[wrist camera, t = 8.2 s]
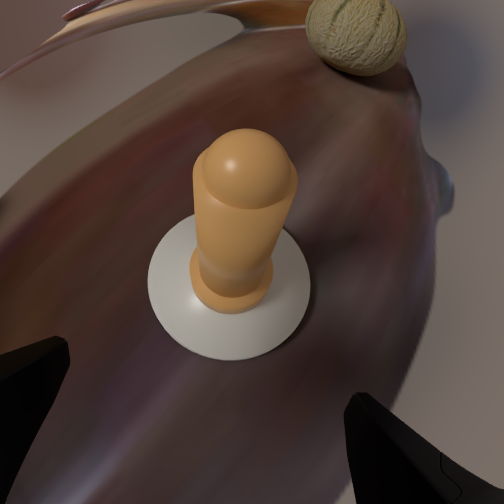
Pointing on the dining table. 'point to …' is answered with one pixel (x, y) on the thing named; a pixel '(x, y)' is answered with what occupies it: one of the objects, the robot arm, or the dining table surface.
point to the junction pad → (217, 324)
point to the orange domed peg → (239, 218)
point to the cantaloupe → (357, 34)
